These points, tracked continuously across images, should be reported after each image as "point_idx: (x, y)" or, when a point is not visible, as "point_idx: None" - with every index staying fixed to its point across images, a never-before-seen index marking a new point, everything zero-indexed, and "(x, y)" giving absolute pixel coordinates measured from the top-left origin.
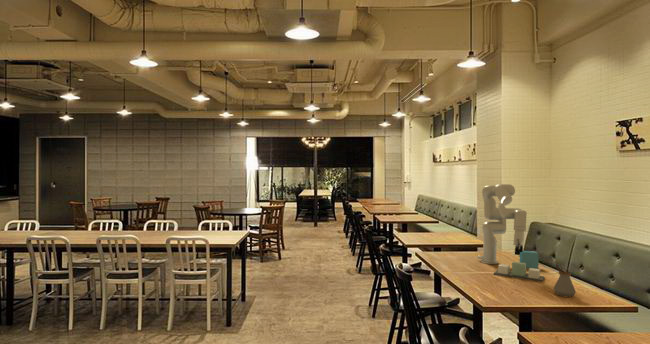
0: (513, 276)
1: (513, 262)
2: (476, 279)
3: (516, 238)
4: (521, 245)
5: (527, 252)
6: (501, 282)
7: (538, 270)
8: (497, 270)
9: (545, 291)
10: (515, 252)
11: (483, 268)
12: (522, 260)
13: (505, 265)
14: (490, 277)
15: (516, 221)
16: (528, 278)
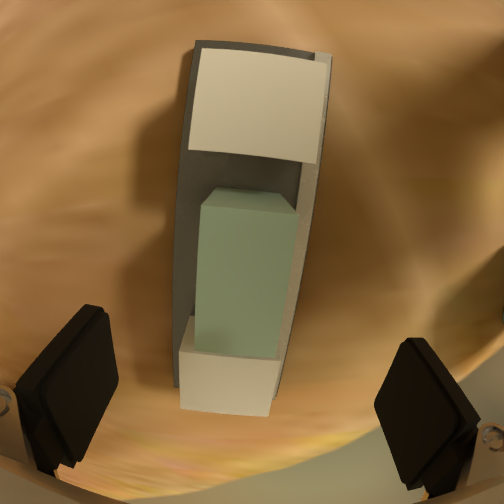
0: (177, 204)
1: (233, 221)
2: (16, 21)
3: None
4: (434, 492)
5: None
6: (7, 156)
7: (210, 409)
8: (313, 57)
9: (13, 366)
10: (70, 336)
11: None
12: None
13: (264, 117)
14: (89, 53)
15: None
16: (173, 314)
